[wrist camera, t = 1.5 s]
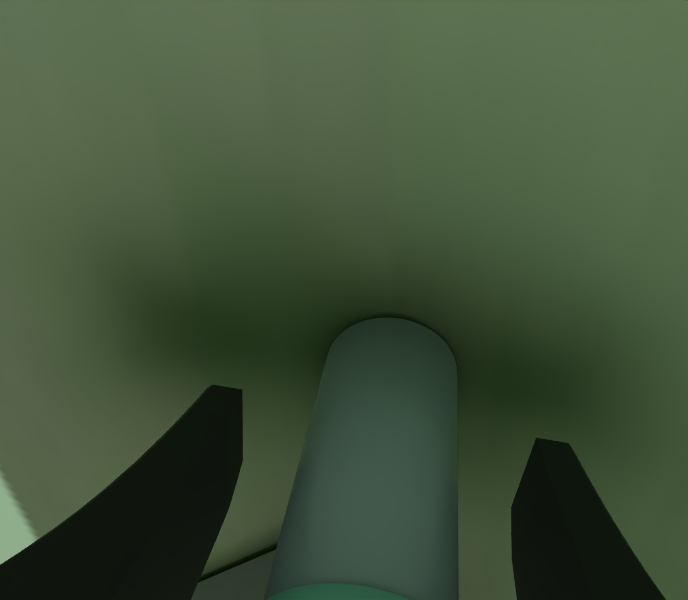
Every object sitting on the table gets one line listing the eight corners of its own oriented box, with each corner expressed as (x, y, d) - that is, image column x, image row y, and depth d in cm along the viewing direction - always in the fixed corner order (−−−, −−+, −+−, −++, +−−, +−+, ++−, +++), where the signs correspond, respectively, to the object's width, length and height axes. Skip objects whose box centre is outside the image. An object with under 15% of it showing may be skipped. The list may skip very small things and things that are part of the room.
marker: (490, 386, 15) (518, 810, 8) (379, 440, 16) (326, 838, 9) (404, 289, 13) (357, 687, 7) (293, 355, 15) (166, 739, 8)
